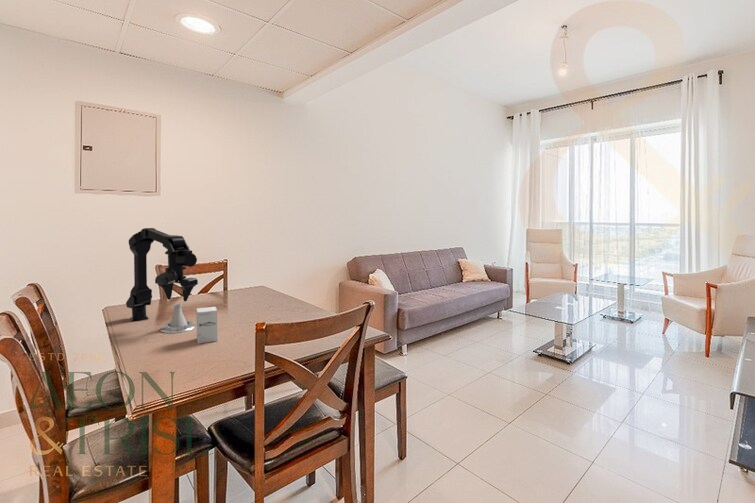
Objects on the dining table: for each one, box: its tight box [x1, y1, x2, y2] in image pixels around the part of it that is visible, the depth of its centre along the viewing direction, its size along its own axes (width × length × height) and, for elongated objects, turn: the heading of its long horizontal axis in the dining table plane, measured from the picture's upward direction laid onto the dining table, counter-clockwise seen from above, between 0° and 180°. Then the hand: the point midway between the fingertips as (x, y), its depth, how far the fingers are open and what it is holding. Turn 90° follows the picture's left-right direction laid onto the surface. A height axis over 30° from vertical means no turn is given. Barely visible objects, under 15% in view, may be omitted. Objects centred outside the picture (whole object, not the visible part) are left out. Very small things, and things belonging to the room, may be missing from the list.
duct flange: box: [159, 319, 197, 334], centre depth 164 cm, size 14×14×2 cm
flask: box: [169, 303, 188, 327], centre depth 164 cm, size 7×7×10 cm
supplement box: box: [195, 306, 219, 344], centre depth 149 cm, size 7×7×13 cm
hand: (177, 300), depth 163 cm, fingers open, 9 cm apart
